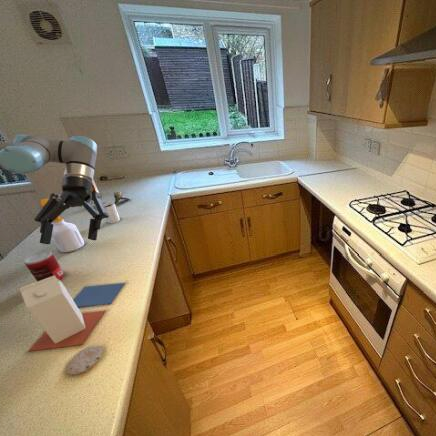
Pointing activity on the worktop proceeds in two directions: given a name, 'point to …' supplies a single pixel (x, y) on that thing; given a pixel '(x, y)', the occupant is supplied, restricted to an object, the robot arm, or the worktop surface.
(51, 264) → the canned food
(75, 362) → the flatbread
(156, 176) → the worktop surface
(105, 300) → the slate-blue mat
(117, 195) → the artificial flower
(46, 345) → the terracotta mat
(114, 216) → the white cup
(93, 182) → the baking soda box
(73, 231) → the soap bottle
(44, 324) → the milk carton
